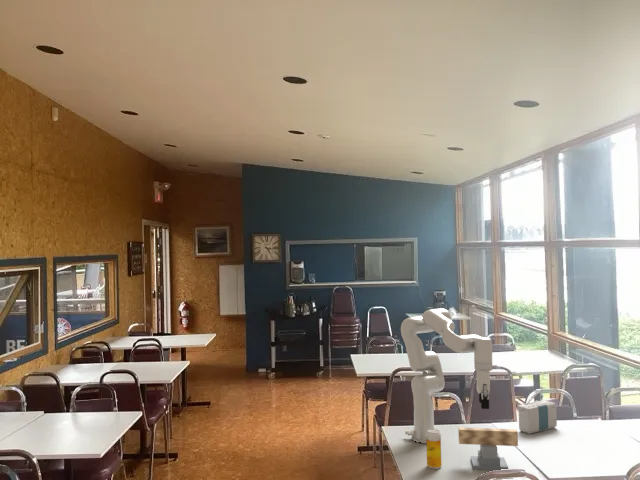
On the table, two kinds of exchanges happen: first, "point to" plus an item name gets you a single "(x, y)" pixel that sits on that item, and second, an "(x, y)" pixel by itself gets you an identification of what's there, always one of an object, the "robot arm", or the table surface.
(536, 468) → the table surface
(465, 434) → the tan long bar
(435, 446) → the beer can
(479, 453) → the fulcrum stand
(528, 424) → the stereo radio cassette player
